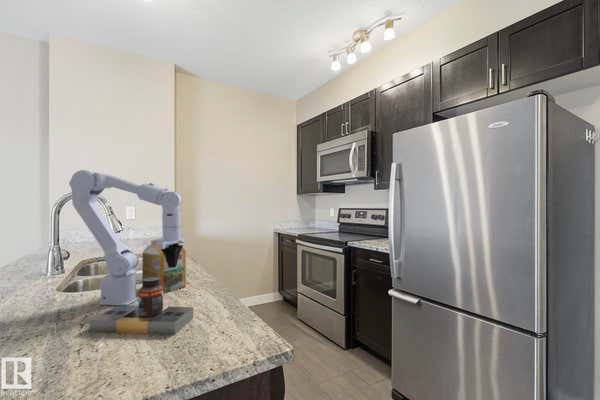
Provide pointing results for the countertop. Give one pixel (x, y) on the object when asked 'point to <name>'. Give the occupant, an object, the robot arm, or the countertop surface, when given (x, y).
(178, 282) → the food carton
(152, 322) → the grey flat block
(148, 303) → the supplement bottle
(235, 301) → the countertop surface
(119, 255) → the robot arm
